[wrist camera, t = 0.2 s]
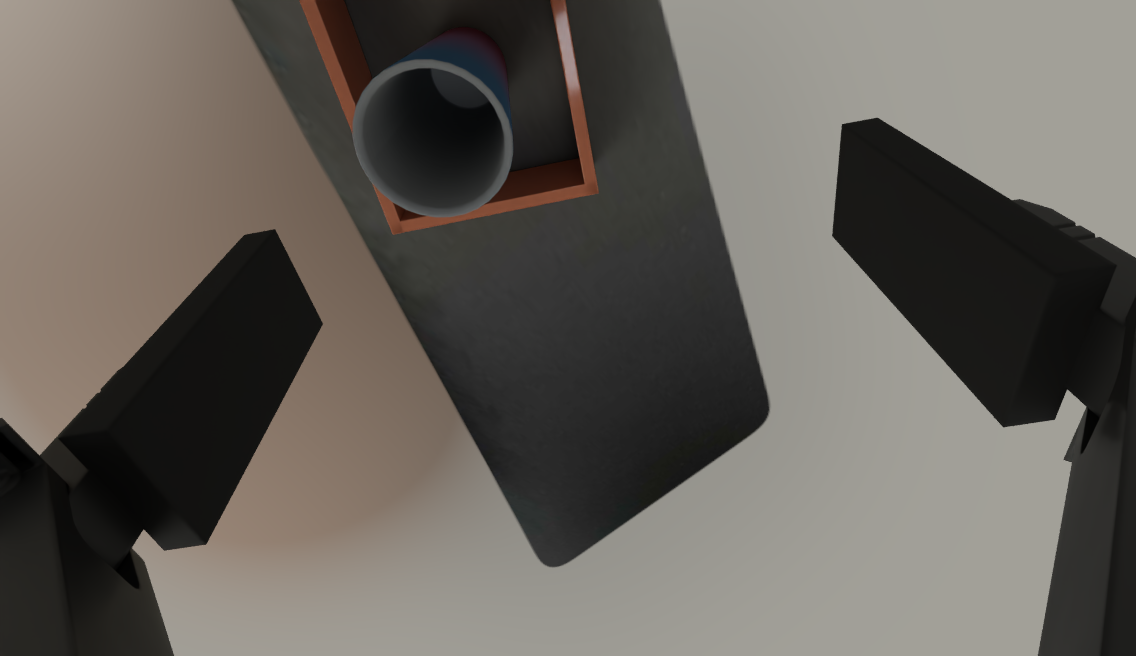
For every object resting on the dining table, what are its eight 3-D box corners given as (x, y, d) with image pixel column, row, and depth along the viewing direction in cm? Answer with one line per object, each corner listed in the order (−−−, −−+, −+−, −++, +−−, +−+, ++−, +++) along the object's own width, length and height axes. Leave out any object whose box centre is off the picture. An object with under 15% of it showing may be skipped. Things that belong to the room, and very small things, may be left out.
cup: (498, -6, 36) (479, 35, 23) (534, 106, 39) (534, 193, 27) (393, 31, 36) (320, 89, 24) (439, 137, 40) (396, 235, 28)
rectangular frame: (312, -48, 34) (281, -43, 30) (545, -104, 33) (547, -106, 29) (406, 204, 43) (392, 234, 39) (592, 166, 42) (599, 193, 38)
